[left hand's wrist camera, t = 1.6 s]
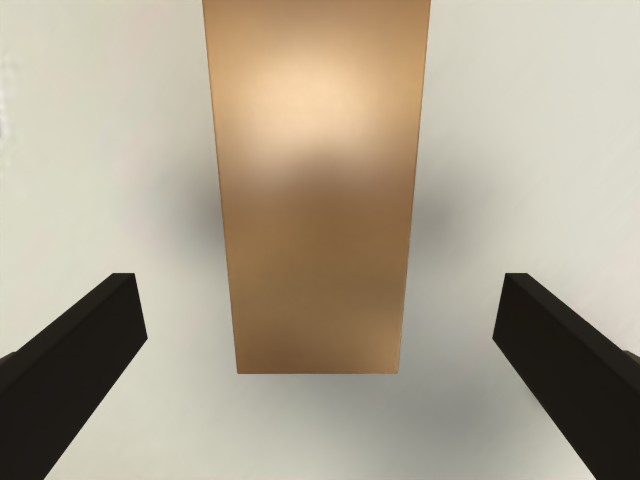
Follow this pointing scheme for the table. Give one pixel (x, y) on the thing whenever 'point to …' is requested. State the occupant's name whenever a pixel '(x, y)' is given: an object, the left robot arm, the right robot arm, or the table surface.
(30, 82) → the table surface
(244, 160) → the box
